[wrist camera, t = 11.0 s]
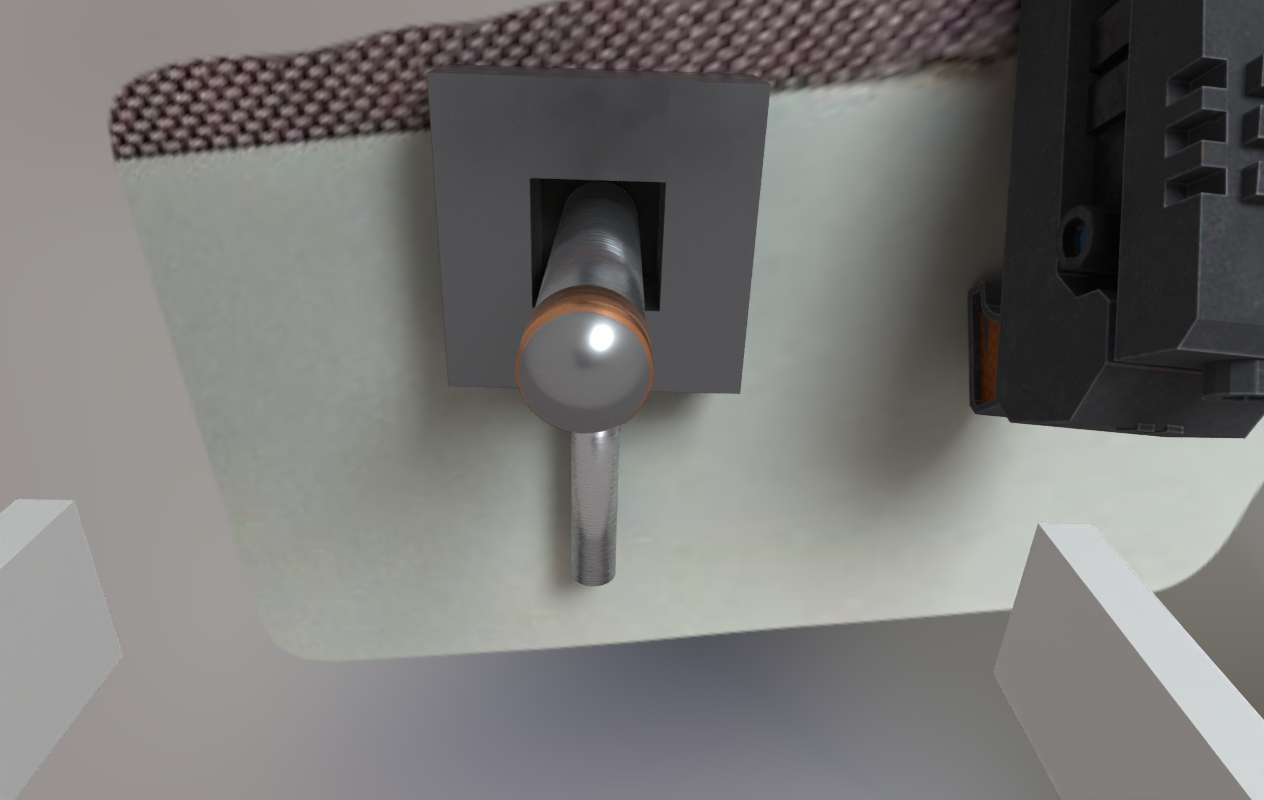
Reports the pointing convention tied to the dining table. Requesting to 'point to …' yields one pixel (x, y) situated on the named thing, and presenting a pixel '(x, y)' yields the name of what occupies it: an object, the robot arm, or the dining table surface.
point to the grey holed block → (597, 150)
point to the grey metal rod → (589, 318)
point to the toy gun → (1131, 223)
